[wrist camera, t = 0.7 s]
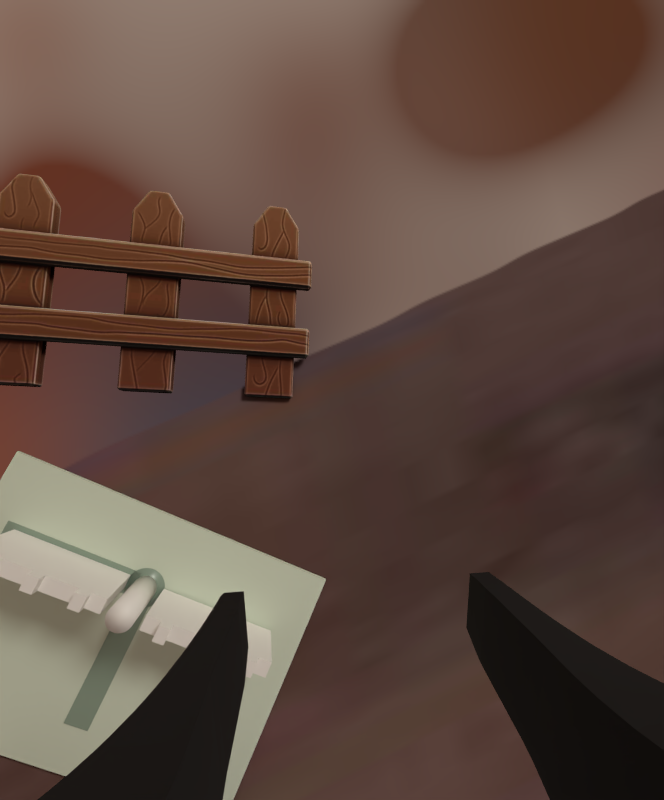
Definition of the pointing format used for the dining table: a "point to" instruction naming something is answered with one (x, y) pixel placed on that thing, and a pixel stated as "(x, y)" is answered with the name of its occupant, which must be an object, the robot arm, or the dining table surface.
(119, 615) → the fence post and fixed panel
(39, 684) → the card
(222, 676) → the robot arm
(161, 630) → the folding fence panel
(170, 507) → the dining table surface
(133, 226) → the decorative fence
